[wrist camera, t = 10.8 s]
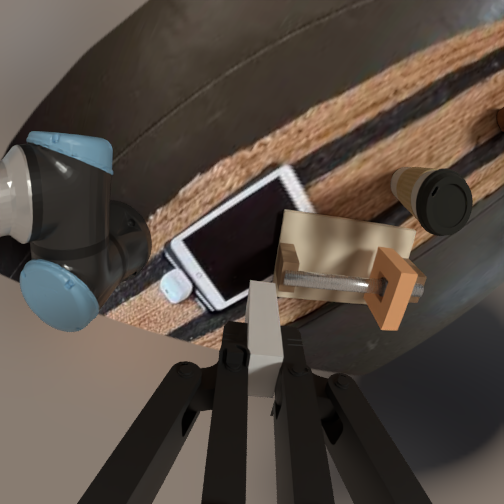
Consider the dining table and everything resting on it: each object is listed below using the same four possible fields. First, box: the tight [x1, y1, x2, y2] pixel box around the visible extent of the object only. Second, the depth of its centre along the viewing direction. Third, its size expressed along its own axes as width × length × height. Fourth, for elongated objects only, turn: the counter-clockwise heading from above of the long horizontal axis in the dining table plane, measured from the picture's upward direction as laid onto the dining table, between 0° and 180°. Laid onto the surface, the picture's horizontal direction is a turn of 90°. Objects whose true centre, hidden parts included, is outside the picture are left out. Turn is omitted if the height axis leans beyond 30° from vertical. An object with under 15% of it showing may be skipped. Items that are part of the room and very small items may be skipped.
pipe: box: [283, 270, 423, 297], centre depth 47 cm, size 24×3×3 cm, turn 83°
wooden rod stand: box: [272, 209, 427, 304], centre depth 51 cm, size 25×16×9 cm, turn 83°
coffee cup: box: [391, 167, 473, 236], centre depth 43 cm, size 10×10×15 cm
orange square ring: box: [363, 247, 418, 330], centre depth 47 cm, size 3×10×10 cm, turn 173°
